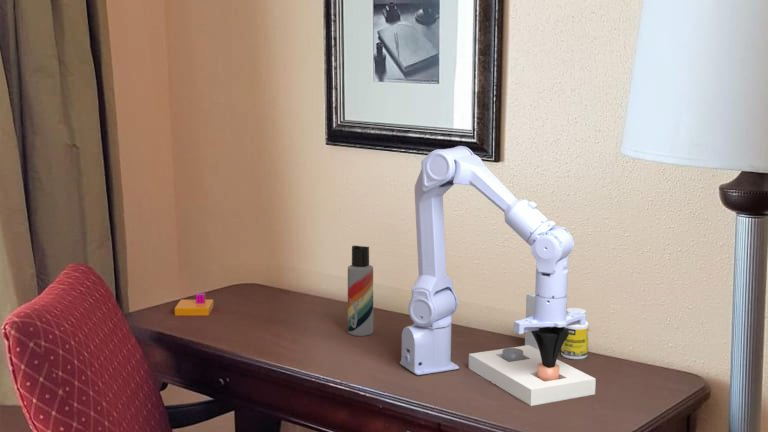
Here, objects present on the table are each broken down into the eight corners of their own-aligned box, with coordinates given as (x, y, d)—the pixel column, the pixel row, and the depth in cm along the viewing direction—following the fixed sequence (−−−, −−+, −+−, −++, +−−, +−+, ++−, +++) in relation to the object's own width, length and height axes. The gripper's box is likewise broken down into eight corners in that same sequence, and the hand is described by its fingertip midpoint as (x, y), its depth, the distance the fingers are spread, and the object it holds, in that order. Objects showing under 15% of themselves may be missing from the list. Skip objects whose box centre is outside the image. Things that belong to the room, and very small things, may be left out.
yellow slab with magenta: (208, 317, 221) (208, 299, 221) (174, 317, 221) (174, 299, 220) (213, 308, 229) (213, 291, 229) (181, 308, 229) (180, 291, 228)
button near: (544, 391, 169) (545, 370, 169) (532, 384, 173) (533, 364, 172) (562, 388, 171) (563, 367, 170) (550, 381, 175) (551, 361, 174)
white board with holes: (530, 405, 165) (531, 389, 164) (468, 368, 184) (468, 353, 184) (595, 394, 170) (595, 378, 170) (528, 359, 190) (528, 345, 190)
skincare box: (537, 355, 193) (539, 298, 191) (523, 349, 196) (525, 294, 194) (559, 350, 196) (561, 294, 194) (544, 345, 200) (546, 290, 198)
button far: (509, 375, 180) (509, 355, 179) (498, 369, 184) (498, 349, 183) (526, 372, 182) (527, 352, 181) (515, 366, 185) (515, 347, 185)
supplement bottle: (560, 358, 190) (562, 312, 189) (561, 350, 196) (563, 305, 194) (587, 360, 189) (589, 314, 188) (587, 352, 195) (589, 307, 193)
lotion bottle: (343, 334, 206) (343, 246, 203) (353, 327, 212) (353, 241, 208) (367, 337, 204) (367, 248, 201) (376, 330, 209) (377, 243, 206)
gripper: (529, 304, 162) (527, 378, 165) (597, 295, 168) (593, 367, 171) (508, 294, 169) (506, 366, 171) (573, 286, 175) (570, 356, 177)
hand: (548, 366), depth 171 cm, fingers closed, pressing on button near
